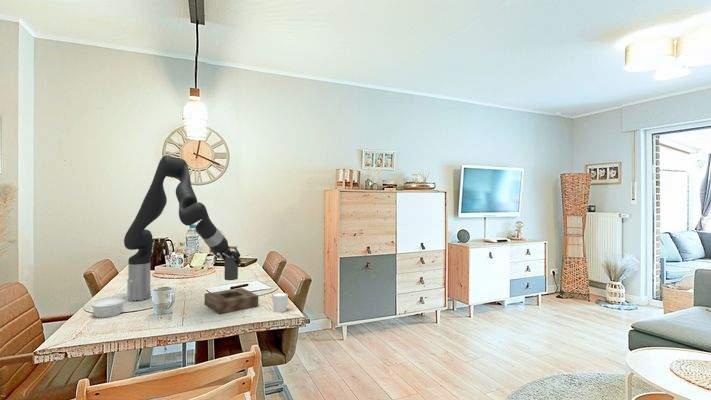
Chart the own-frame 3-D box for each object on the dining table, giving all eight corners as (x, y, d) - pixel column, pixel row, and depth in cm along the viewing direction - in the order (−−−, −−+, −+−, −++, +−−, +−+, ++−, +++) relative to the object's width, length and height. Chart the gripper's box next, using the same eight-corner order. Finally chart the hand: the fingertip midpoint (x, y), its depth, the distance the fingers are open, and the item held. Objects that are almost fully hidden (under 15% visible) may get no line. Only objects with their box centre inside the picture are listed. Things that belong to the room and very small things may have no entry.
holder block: (219, 314, 159) (219, 302, 159) (204, 304, 172) (204, 293, 172) (258, 306, 171) (258, 295, 170) (241, 297, 184) (241, 287, 184)
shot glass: (290, 308, 168) (290, 293, 167) (282, 313, 161) (283, 297, 161) (277, 307, 170) (277, 291, 170) (269, 311, 163) (269, 295, 163)
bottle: (226, 277, 174) (226, 245, 174) (239, 277, 174) (239, 245, 174) (222, 280, 168) (223, 247, 168) (236, 280, 168) (236, 247, 168)
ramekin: (89, 320, 150) (89, 307, 150) (94, 312, 160) (94, 300, 160) (122, 316, 155) (122, 303, 155) (124, 309, 165) (124, 297, 165)
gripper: (232, 233, 161) (250, 257, 172) (207, 232, 167) (226, 255, 178) (223, 247, 156) (242, 270, 167) (197, 245, 162) (218, 268, 173)
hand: (234, 262), depth 173 cm, fingers closed on bottle, 5 cm apart
